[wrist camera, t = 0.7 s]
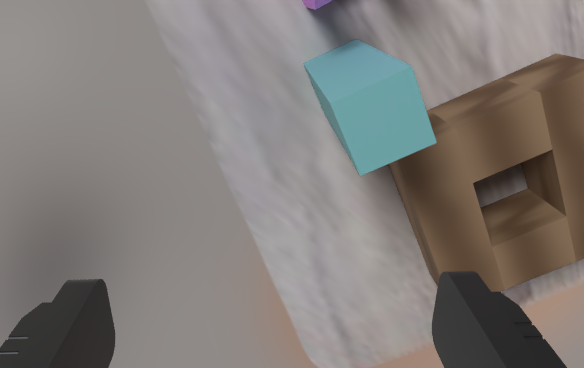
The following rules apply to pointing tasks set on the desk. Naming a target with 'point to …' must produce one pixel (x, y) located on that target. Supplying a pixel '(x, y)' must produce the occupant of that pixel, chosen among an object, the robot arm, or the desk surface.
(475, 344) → the robot arm
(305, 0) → the bracket
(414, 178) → the socket block
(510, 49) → the desk surface
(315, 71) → the peg
